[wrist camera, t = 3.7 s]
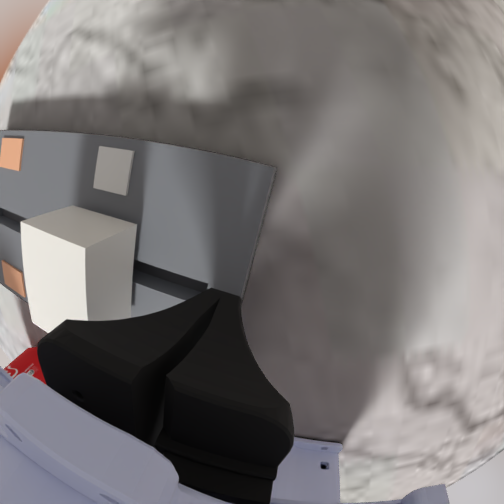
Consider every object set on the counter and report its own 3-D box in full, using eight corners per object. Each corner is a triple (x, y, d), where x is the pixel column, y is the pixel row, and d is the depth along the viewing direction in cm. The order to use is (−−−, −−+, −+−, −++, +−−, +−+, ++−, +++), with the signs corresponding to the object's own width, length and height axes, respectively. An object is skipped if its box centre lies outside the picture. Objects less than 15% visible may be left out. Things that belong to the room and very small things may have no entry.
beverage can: (44, 376, 21) (-18, 442, 10) (26, 336, 20) (-49, 401, 8) (76, 391, 20) (11, 470, 9) (57, 349, 19) (-26, 430, 8)
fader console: (277, 167, 12) (274, 167, 10) (223, 370, 16) (214, 394, 14) (7, 129, 13) (-13, 131, 11) (6, 268, 17) (-11, 276, 15)
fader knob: (152, 217, 13) (85, 247, 8) (143, 307, 14) (92, 359, 10) (90, 200, 13) (20, 221, 8) (87, 283, 14) (32, 322, 10)
